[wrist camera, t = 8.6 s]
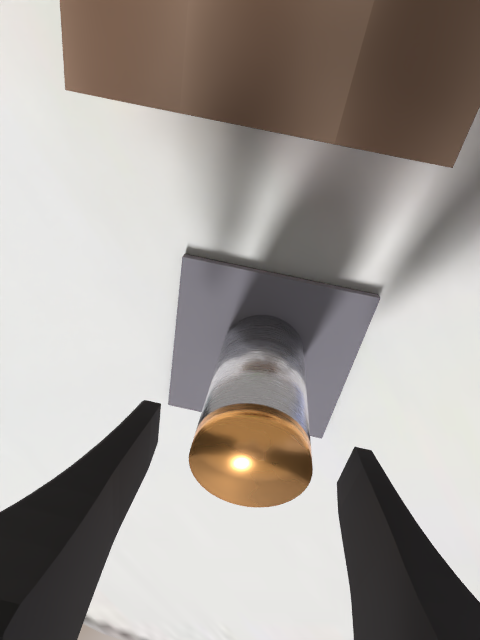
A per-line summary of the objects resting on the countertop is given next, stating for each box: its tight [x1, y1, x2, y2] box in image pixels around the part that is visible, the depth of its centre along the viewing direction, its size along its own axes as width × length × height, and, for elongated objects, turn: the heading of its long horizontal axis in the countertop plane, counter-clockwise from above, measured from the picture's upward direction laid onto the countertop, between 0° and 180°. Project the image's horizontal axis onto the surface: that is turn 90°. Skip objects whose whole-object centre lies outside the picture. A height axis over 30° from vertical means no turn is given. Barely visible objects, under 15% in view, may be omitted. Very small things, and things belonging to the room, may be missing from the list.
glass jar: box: [189, 315, 313, 507], centre depth 14 cm, size 4×4×7 cm
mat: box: [168, 254, 380, 438], centre depth 18 cm, size 9×9×1 cm
